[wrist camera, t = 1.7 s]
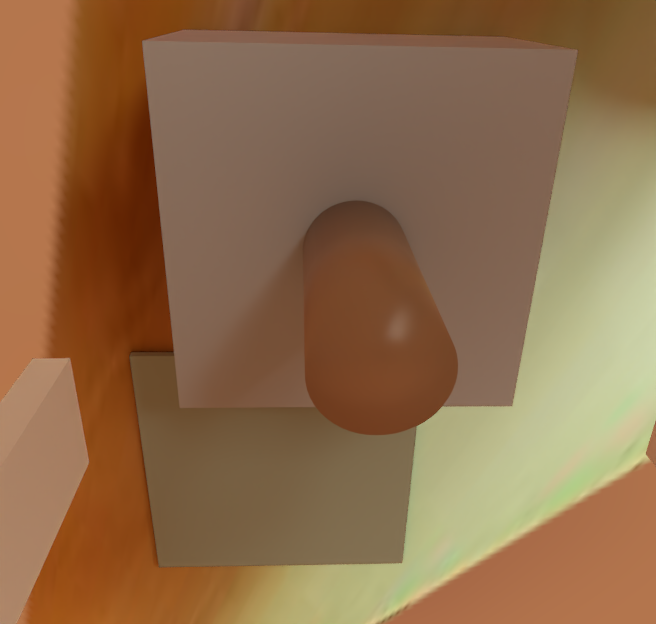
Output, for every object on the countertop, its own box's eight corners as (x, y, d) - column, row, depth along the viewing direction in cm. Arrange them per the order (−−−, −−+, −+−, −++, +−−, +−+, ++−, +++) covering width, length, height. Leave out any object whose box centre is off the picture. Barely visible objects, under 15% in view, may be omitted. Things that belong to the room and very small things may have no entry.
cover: (505, 36, 26) (744, 80, 12) (466, 319, 32) (597, 568, 18) (184, 29, 25) (42, 66, 11) (205, 318, 31) (130, 576, 17)
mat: (422, 351, 33) (423, 355, 32) (401, 557, 39) (402, 563, 39) (131, 352, 32) (129, 356, 32) (160, 562, 39) (158, 567, 38)
